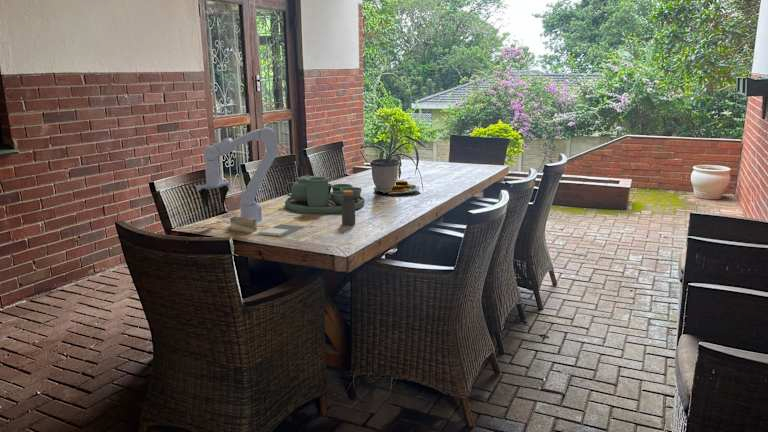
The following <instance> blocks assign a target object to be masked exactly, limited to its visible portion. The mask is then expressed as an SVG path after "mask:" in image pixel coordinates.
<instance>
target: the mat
mask: <svg viewBox="0 0 768 432" xmlns="http://www.w3.org/2000/svg"><path fill="white" fill-rule="evenodd" d="M272 228H276V229H286V230H289V233H287V234H284V235H282V236H280V237H279V236H270V235H261V231H260V232H258V233H255V234H254V236H259V237H261V236H262V237H271V238H278V239H279V238H280V239H282V238H284V237H287V236H289V235H291V234H294V233H296V232H298V231H300V230H302V229H304V228H306V226H303V225H291V224H283V223H281V224H277V225H276V226H273V227H272Z"/></svg>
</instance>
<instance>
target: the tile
mask: <svg viewBox="0 0 768 432" xmlns="http://www.w3.org/2000/svg"><path fill="white" fill-rule="evenodd" d="M260 232H261V235H270V236H279V237H280V236H282V235H284V234H287V233H289V230H286V229H276V228H273V227H269V228H267V229H264V230H262V231H260Z"/></svg>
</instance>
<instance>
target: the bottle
mask: <svg viewBox="0 0 768 432" xmlns="http://www.w3.org/2000/svg"><path fill="white" fill-rule="evenodd" d="M342 197H343V198H344V200H342V212H341V223H342V226H347V227H351V226H355V225H356V210H355V201H354V200H353V197H354V195H353V191H352V190H344V191H343V195H342Z"/></svg>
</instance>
